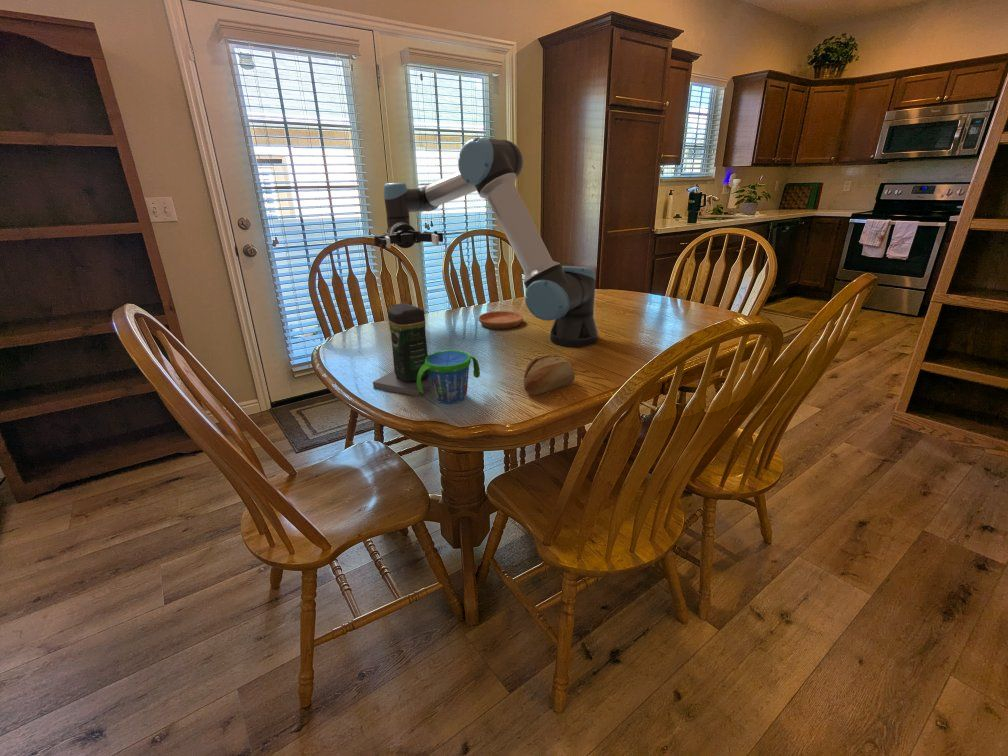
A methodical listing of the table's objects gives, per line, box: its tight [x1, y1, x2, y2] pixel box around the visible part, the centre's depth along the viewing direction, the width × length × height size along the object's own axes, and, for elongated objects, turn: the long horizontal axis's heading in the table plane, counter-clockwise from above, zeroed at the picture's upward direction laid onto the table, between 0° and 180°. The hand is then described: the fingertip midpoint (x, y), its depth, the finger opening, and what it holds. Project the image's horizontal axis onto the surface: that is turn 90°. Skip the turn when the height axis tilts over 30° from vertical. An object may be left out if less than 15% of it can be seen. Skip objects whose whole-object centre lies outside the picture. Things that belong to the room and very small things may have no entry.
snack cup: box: [417, 349, 481, 404], centre depth 109 cm, size 16×10×10 cm
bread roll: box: [522, 354, 576, 396], centre depth 114 cm, size 10×15×8 cm, turn 131°
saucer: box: [478, 310, 524, 330], centre depth 169 cm, size 16×16×3 cm
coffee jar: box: [387, 302, 429, 382], centre depth 117 cm, size 10×8×19 cm
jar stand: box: [372, 370, 433, 397], centre depth 120 cm, size 14×14×2 cm
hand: (413, 241), depth 132 cm, fingers open, 13 cm apart
